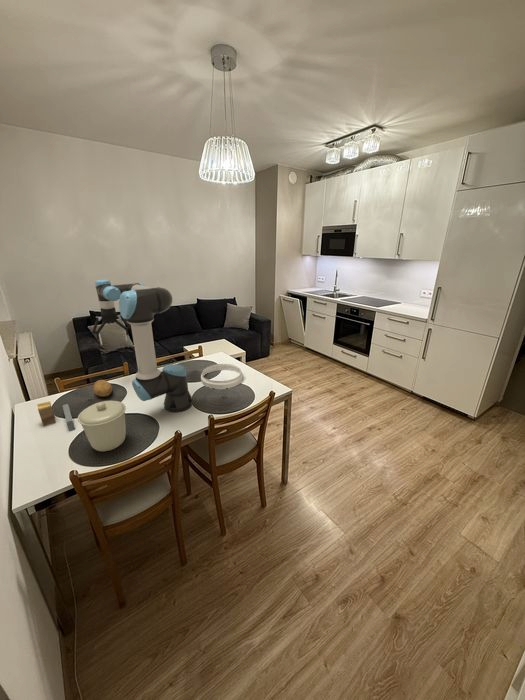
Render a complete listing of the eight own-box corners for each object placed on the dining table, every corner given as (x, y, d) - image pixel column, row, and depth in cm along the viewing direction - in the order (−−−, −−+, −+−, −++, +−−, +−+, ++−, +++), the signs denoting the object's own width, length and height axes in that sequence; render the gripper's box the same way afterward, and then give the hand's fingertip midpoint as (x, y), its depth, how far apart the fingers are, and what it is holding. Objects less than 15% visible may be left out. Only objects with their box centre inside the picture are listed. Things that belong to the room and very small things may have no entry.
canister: (118, 425, 137) (109, 387, 130) (139, 440, 128) (132, 400, 120) (78, 446, 123) (66, 405, 116) (99, 464, 114) (88, 421, 106)
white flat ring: (231, 367, 202) (231, 360, 200) (250, 382, 180) (250, 375, 178) (195, 376, 188) (194, 368, 186) (210, 393, 167) (210, 385, 165)
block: (56, 422, 139) (50, 405, 135) (43, 426, 136) (37, 409, 132) (55, 417, 143) (49, 401, 139) (43, 421, 140) (37, 404, 136)
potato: (97, 403, 156) (94, 390, 153) (92, 392, 166) (89, 380, 163) (116, 397, 162) (114, 385, 159) (110, 387, 172) (108, 376, 169)
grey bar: (75, 429, 135) (72, 420, 133) (69, 430, 133) (66, 422, 131) (70, 411, 148) (68, 403, 146) (64, 413, 146) (62, 405, 144)
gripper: (130, 304, 169) (136, 337, 177) (82, 308, 158) (90, 343, 166) (131, 306, 163) (137, 340, 171) (82, 311, 152) (90, 347, 160)
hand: (114, 342), depth 169 cm, fingers open, 13 cm apart
